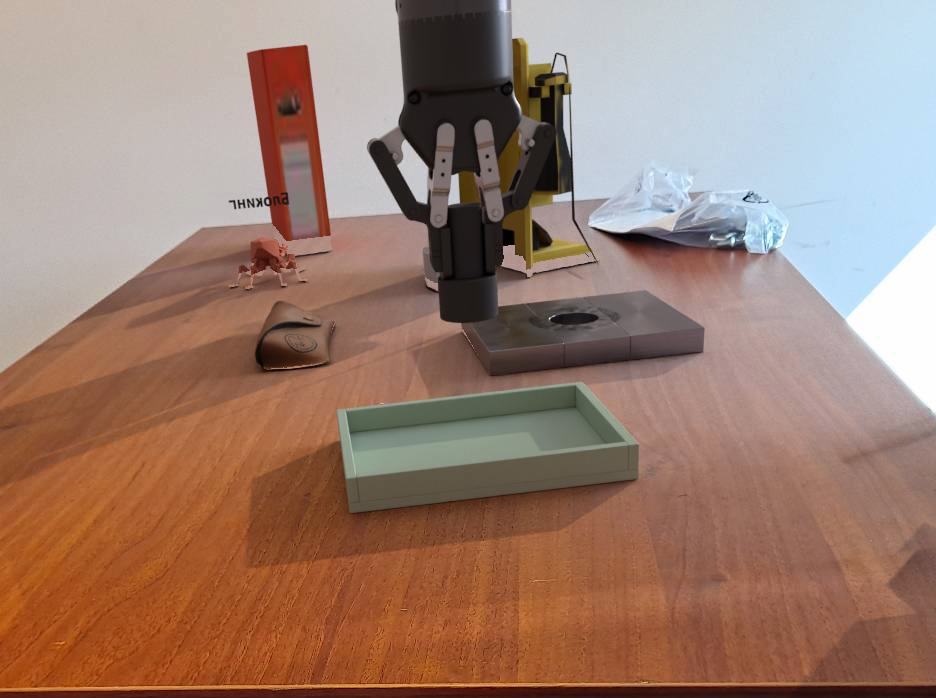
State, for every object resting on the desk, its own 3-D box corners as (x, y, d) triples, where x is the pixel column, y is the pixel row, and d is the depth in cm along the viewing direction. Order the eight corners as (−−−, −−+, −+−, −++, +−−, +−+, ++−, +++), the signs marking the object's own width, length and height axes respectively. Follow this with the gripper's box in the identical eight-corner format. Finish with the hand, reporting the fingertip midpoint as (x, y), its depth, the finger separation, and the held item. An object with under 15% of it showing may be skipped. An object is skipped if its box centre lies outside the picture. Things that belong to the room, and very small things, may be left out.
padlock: (420, 283, 139) (415, 210, 135) (448, 279, 140) (443, 207, 135) (432, 293, 133) (426, 217, 128) (460, 289, 133) (456, 213, 129)
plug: (492, 306, 76) (488, 198, 72) (503, 319, 72) (499, 206, 68) (436, 312, 75) (429, 204, 72) (444, 325, 71) (437, 212, 68)
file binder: (286, 258, 166) (258, 49, 152) (273, 243, 181) (246, 51, 167) (332, 251, 168) (309, 44, 153) (315, 237, 183) (292, 47, 168)
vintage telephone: (643, 270, 134) (650, 25, 121) (559, 287, 129) (557, 34, 116) (520, 243, 160) (514, 38, 147) (446, 256, 155) (433, 46, 142)
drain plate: (645, 311, 115) (646, 289, 114) (703, 351, 99) (705, 327, 98) (461, 331, 114) (460, 310, 113) (490, 376, 98) (488, 351, 97)
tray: (581, 411, 86) (582, 381, 85) (638, 479, 72) (639, 443, 71) (339, 439, 85) (336, 409, 84) (349, 513, 71) (345, 478, 70)
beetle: (306, 285, 144) (295, 196, 139) (224, 292, 145) (210, 204, 139) (316, 265, 158) (306, 183, 152) (241, 272, 158) (228, 190, 153)
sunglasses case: (334, 360, 105) (295, 310, 103) (283, 397, 107) (244, 349, 104) (337, 320, 121) (304, 276, 119) (293, 353, 123) (259, 310, 121)
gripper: (352, 18, 61) (378, 296, 68) (572, -2, 61) (573, 275, 69) (346, 22, 67) (370, 275, 75) (544, 4, 68) (548, 256, 76)
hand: (467, 274), depth 72 cm, fingers closed on plug, 2 cm apart
